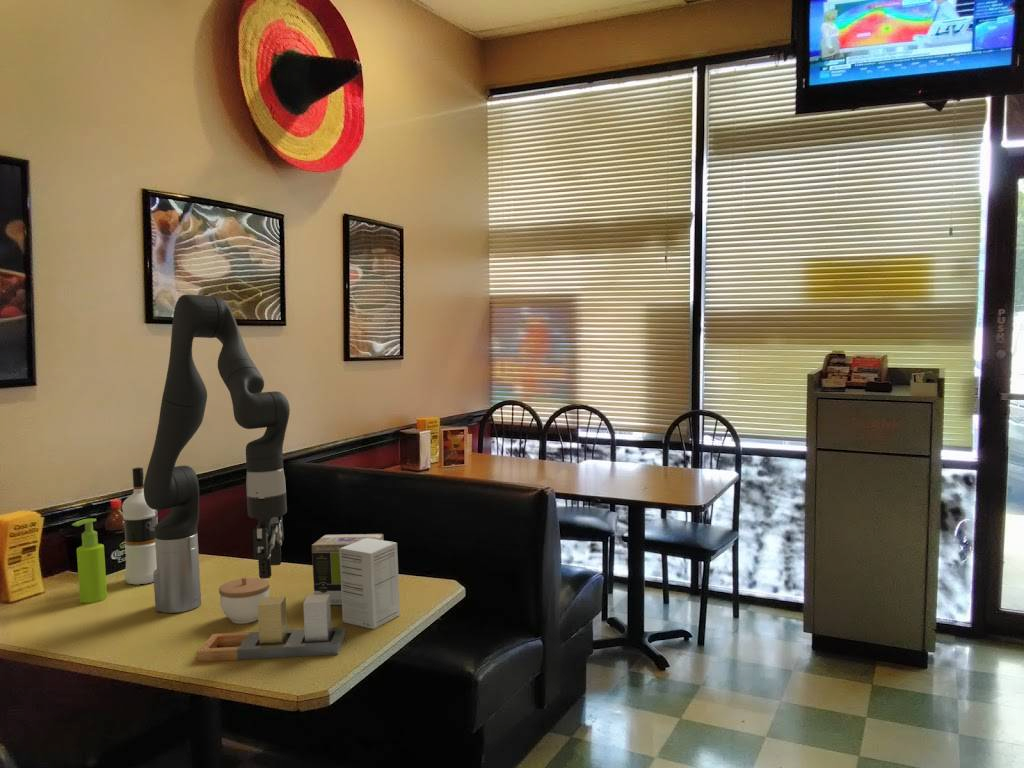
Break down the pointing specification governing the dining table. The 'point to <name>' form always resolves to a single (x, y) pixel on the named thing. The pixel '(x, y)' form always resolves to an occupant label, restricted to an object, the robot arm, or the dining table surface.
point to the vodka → (139, 534)
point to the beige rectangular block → (272, 621)
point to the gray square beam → (317, 619)
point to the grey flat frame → (267, 646)
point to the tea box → (332, 563)
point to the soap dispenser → (91, 565)
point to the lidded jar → (243, 598)
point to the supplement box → (369, 582)
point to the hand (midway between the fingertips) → (270, 571)
